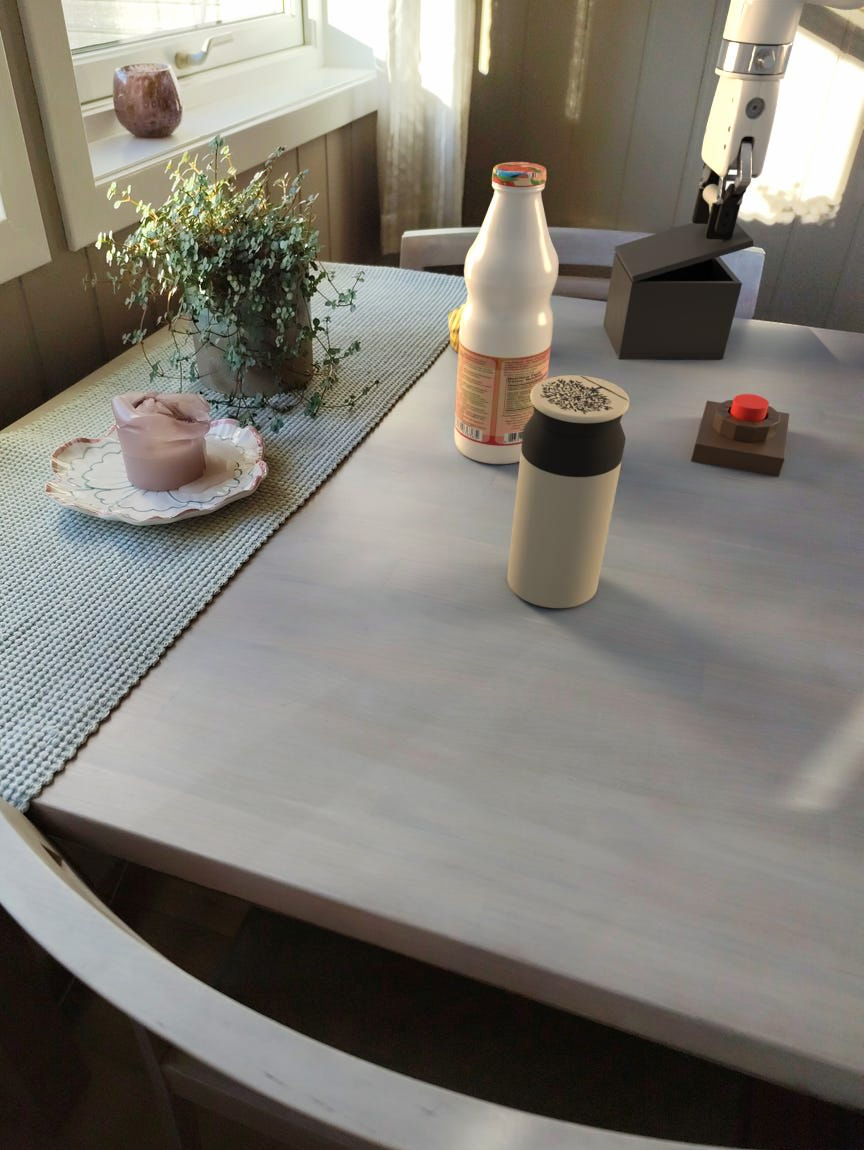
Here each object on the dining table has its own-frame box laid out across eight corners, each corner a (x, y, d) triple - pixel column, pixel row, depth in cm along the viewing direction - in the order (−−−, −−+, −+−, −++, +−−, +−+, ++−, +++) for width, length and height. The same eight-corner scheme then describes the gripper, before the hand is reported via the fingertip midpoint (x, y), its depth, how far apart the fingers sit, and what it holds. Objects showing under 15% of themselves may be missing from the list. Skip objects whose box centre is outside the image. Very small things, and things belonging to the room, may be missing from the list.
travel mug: (538, 621, 76) (565, 428, 64) (490, 571, 82) (507, 384, 70) (615, 596, 79) (655, 406, 67) (563, 549, 84) (592, 366, 72)
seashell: (503, 380, 122) (524, 323, 121) (502, 365, 115) (524, 305, 114) (436, 357, 123) (457, 301, 122) (431, 342, 116) (453, 282, 115)
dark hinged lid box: (700, 325, 125) (716, 253, 119) (723, 359, 117) (742, 283, 110) (603, 325, 126) (614, 252, 119) (618, 359, 117) (631, 283, 110)
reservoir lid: (726, 218, 116) (724, 171, 113) (753, 246, 108) (751, 196, 104) (615, 252, 119) (609, 207, 116) (632, 282, 110) (626, 235, 107)
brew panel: (702, 417, 104) (710, 385, 102) (784, 431, 102) (794, 398, 99) (690, 461, 97) (699, 428, 94) (778, 477, 94) (789, 443, 91)
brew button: (731, 406, 99) (735, 391, 97) (765, 411, 98) (770, 396, 96) (728, 420, 96) (732, 405, 95) (763, 426, 95) (767, 411, 94)
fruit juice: (443, 458, 97) (455, 176, 79) (465, 420, 104) (482, 152, 86) (529, 472, 95) (562, 184, 77) (546, 432, 102) (580, 159, 83)
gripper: (813, 74, 94) (761, 253, 105) (762, 49, 107) (721, 211, 118) (741, 72, 94) (698, 252, 105) (699, 47, 107) (665, 210, 118)
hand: (711, 229), depth 112 cm, fingers closed on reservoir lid, 5 cm apart
